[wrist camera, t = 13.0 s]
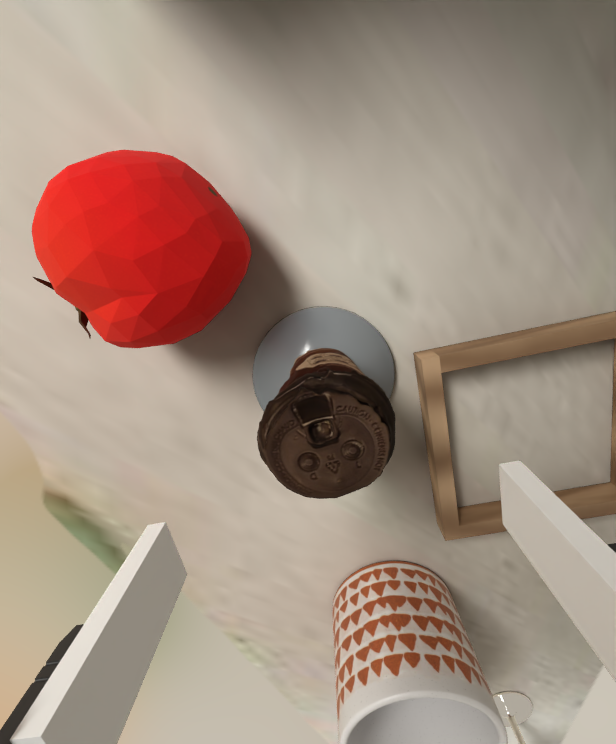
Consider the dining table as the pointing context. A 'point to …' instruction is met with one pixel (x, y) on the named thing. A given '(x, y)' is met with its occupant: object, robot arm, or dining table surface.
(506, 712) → the wineglass
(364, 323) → the flat grey disc
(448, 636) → the planter
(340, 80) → the dining table surface
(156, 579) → the robot arm
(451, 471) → the square wooden frame
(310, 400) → the coffee cup
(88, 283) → the tomato
